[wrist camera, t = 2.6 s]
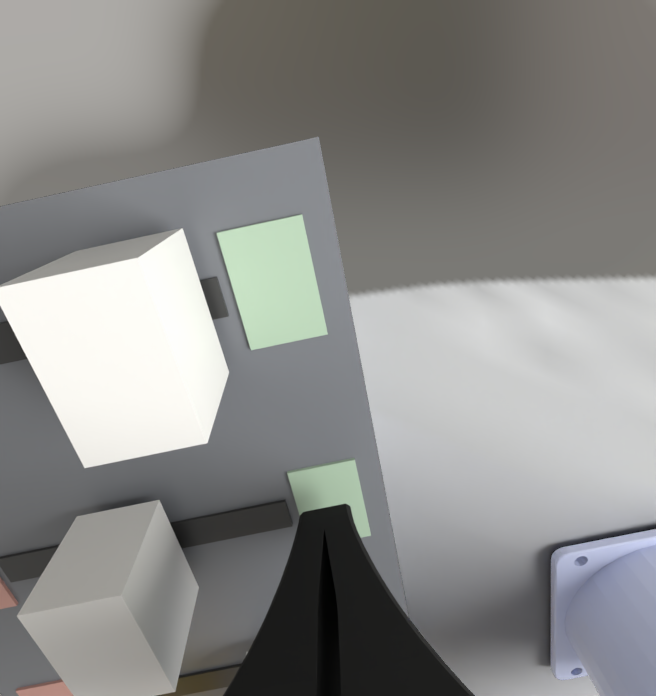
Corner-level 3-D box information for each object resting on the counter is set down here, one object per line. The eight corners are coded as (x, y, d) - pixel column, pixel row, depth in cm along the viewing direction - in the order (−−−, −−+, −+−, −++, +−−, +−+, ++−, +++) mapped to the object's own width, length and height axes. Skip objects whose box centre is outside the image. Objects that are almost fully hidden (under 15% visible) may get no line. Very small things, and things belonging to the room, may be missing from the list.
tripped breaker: (159, 499, 13) (121, 595, 10) (198, 587, 14) (175, 692, 11) (76, 516, 13) (16, 616, 10) (124, 602, 14) (83, 709, 12)
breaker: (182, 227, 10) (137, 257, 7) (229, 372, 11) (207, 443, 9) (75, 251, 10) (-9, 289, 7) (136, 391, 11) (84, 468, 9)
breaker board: (315, 138, 12) (318, 136, 10) (410, 638, 20) (423, 690, 18) (-243, 261, 12) (-347, 281, 10) (75, 702, 20) (51, 761, 18)
